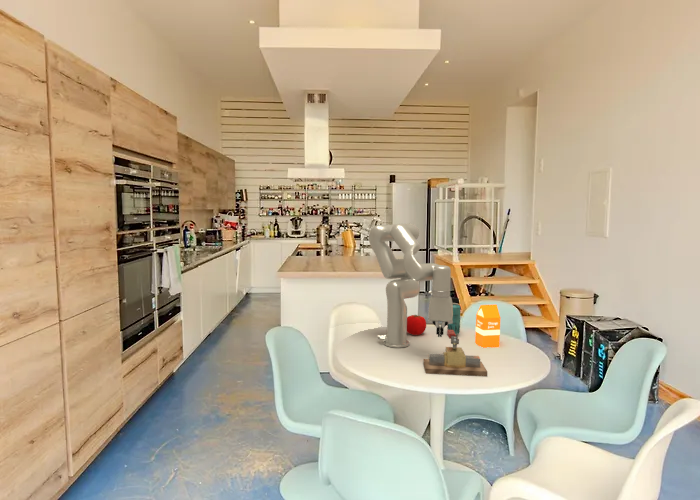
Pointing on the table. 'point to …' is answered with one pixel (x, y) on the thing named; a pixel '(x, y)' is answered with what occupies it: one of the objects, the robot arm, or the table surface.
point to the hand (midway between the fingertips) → (439, 336)
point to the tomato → (416, 324)
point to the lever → (452, 337)
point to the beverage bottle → (455, 317)
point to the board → (454, 370)
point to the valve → (454, 358)
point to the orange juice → (487, 326)
